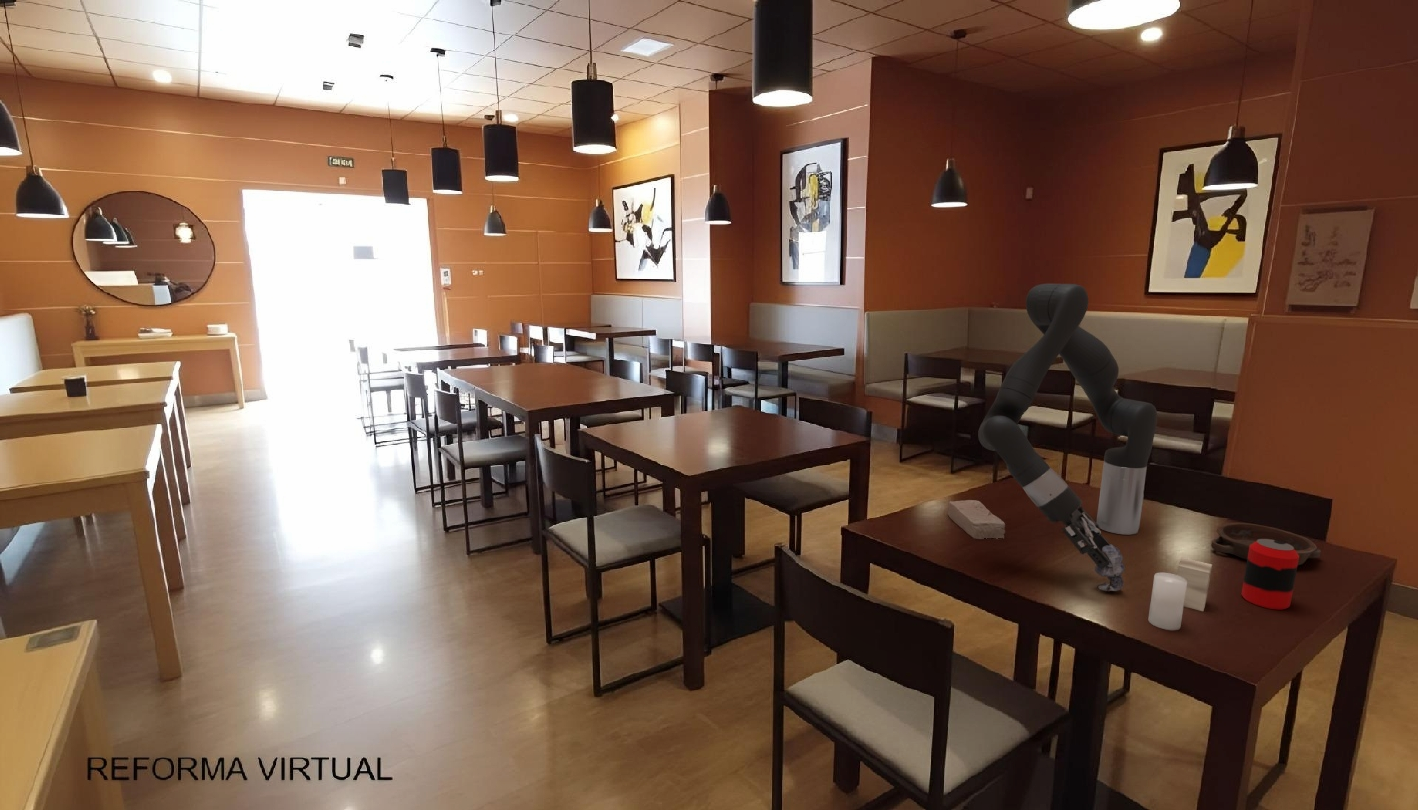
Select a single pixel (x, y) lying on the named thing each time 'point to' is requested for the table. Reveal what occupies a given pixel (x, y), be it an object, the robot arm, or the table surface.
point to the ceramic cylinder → (1167, 601)
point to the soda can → (1270, 574)
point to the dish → (1244, 534)
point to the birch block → (1195, 582)
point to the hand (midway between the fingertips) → (1107, 558)
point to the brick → (976, 519)
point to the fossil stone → (1112, 569)
